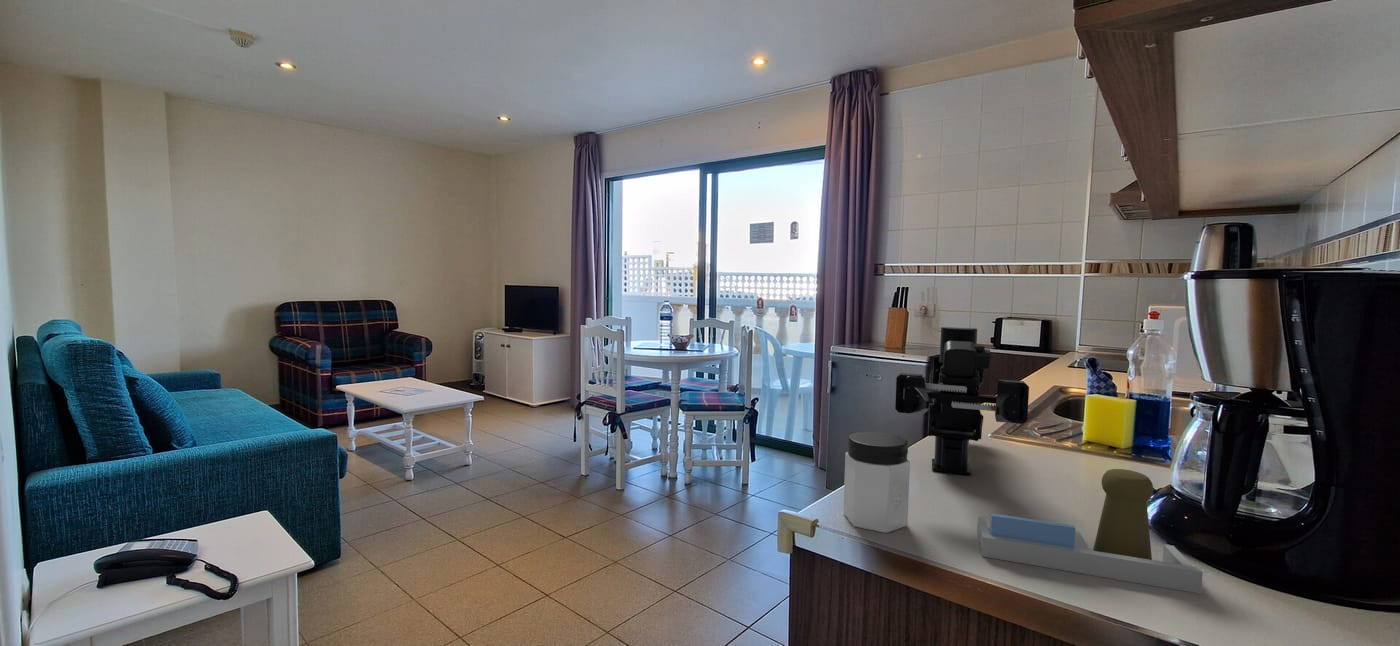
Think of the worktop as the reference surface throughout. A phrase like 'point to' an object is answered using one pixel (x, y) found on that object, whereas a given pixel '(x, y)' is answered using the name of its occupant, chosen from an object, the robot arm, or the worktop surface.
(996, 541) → the shallow tray
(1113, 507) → the cork
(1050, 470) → the worktop surface
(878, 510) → the jar
